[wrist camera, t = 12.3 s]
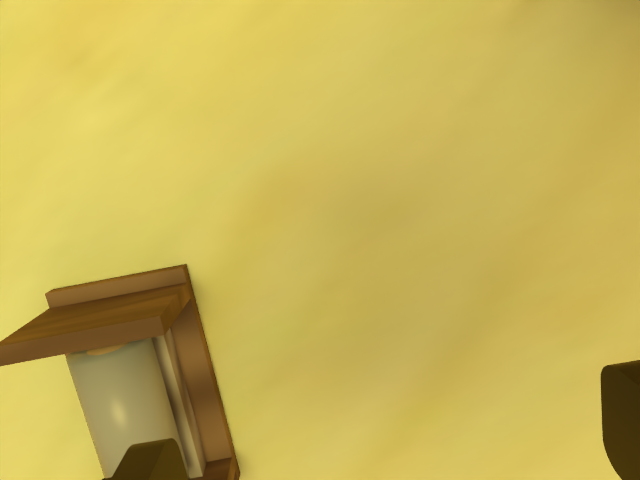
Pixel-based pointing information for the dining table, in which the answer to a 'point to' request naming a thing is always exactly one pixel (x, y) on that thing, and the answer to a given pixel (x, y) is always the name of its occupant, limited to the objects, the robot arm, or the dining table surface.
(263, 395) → the dining table surface
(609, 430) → the robot arm
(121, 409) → the cylinder
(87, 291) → the holder
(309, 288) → the dining table surface
